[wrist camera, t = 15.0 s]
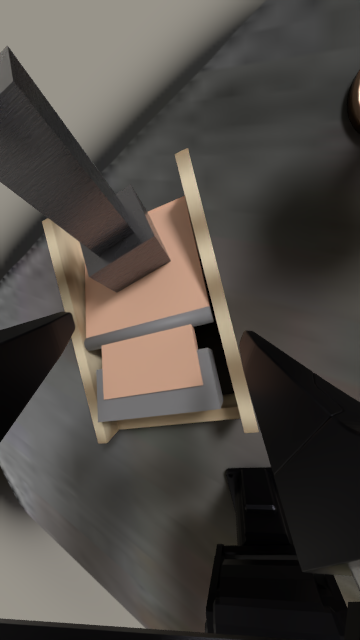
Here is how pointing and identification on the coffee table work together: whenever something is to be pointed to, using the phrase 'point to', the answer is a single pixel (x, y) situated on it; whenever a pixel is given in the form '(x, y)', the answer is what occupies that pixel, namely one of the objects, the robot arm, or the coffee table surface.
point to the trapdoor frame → (73, 297)
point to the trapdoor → (155, 332)
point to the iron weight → (71, 185)
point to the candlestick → (354, 103)
